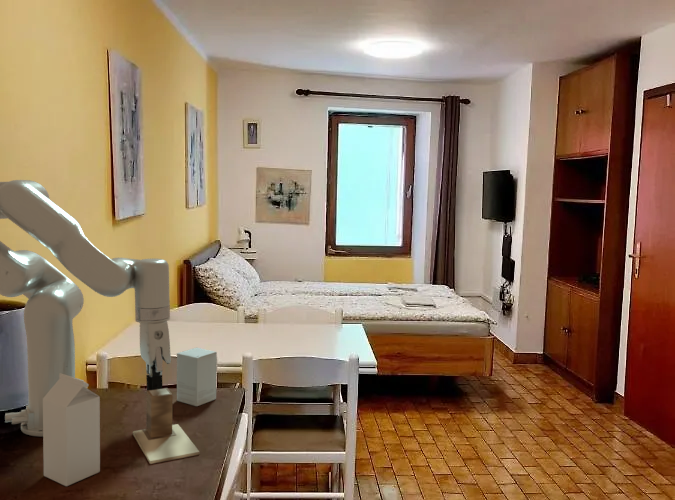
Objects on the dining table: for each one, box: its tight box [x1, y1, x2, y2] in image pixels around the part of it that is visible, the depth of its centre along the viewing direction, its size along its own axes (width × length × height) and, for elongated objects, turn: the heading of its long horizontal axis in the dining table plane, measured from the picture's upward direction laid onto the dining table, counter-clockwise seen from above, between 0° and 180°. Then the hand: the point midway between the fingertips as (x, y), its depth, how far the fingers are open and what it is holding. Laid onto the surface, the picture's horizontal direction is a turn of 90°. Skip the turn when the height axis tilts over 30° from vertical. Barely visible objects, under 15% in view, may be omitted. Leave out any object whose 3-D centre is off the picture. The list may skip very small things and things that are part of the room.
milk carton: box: [42, 373, 101, 487], centre depth 113 cm, size 7×7×19 cm
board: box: [132, 423, 201, 465], centre depth 129 cm, size 10×16×1 cm, turn 30°
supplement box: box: [176, 347, 218, 407], centre depth 155 cm, size 7×7×13 cm
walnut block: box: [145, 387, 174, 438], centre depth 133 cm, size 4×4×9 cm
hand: (154, 391), depth 139 cm, fingers closed
